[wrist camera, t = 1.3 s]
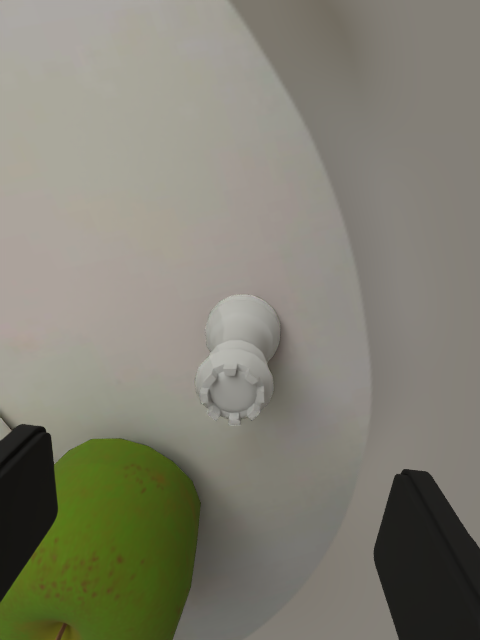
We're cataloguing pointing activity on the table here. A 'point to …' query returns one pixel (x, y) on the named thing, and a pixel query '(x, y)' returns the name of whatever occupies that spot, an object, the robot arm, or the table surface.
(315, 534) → the table surface
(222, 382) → the rook chess piece
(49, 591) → the apple
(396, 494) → the robot arm
